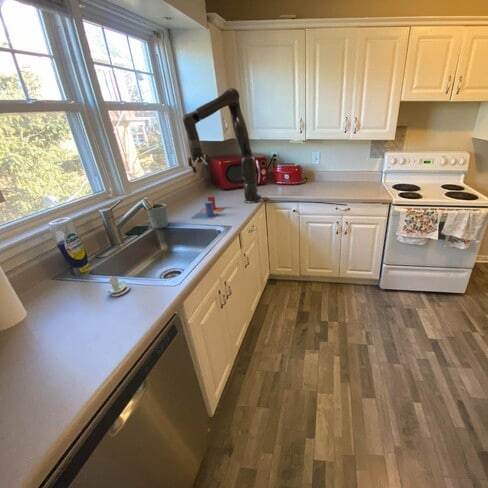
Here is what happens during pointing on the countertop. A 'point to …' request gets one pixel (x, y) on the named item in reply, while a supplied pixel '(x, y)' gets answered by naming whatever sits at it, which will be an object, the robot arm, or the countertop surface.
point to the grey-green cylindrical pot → (158, 216)
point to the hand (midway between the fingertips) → (201, 171)
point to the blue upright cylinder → (209, 209)
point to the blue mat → (203, 215)
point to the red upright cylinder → (210, 198)
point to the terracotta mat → (215, 210)
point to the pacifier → (117, 287)
